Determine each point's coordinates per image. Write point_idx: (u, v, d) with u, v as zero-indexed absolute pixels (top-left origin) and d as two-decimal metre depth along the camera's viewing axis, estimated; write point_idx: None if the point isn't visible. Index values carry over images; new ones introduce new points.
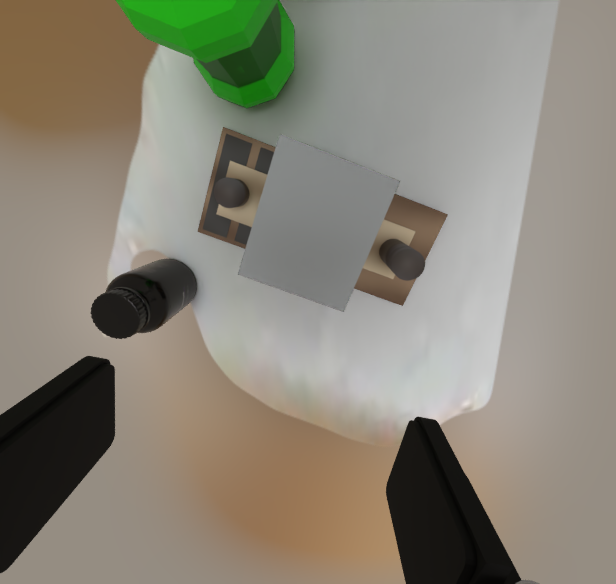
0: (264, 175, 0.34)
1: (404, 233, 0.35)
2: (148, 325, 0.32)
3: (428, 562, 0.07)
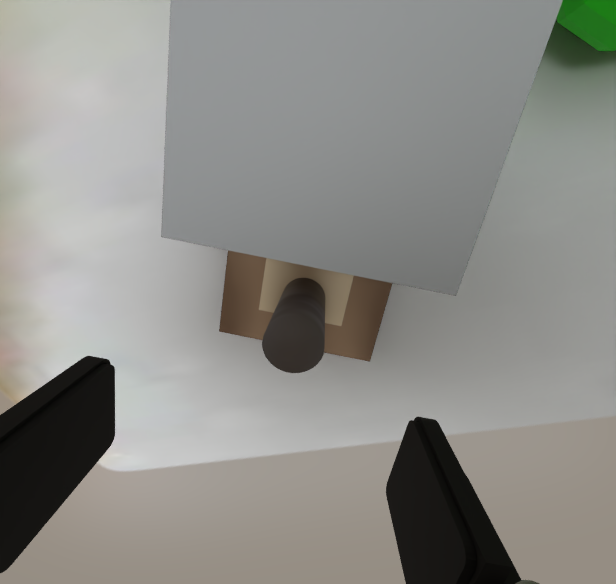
0: None
1: (335, 311, 0.21)
2: None
3: (427, 562, 0.07)
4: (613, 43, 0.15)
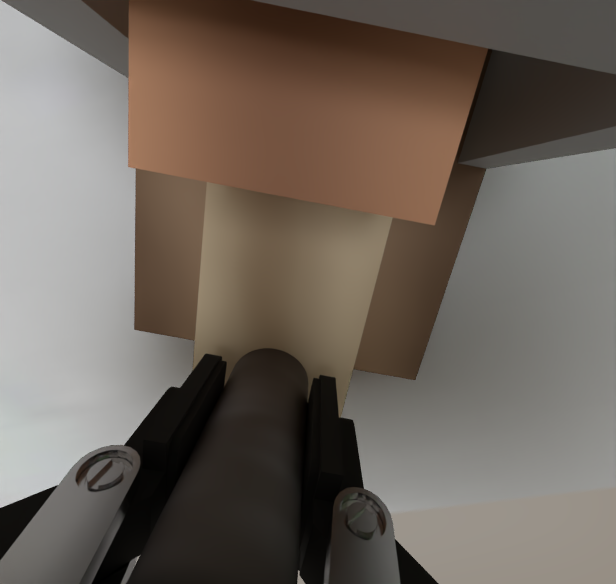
0: None
1: None
2: None
3: None
4: None
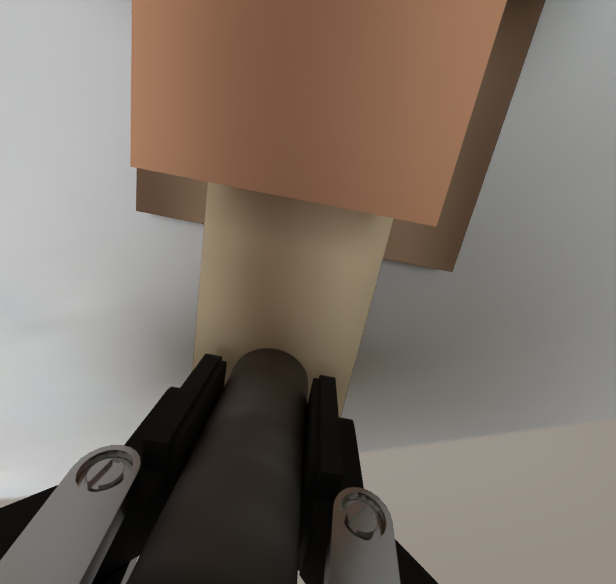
0: None
1: None
2: None
3: None
4: None
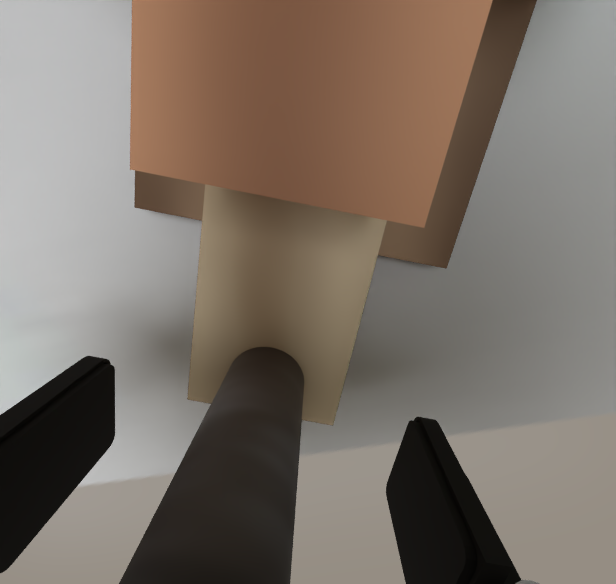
0: None
1: (322, 401, 0.12)
2: None
3: (428, 562, 0.07)
4: None
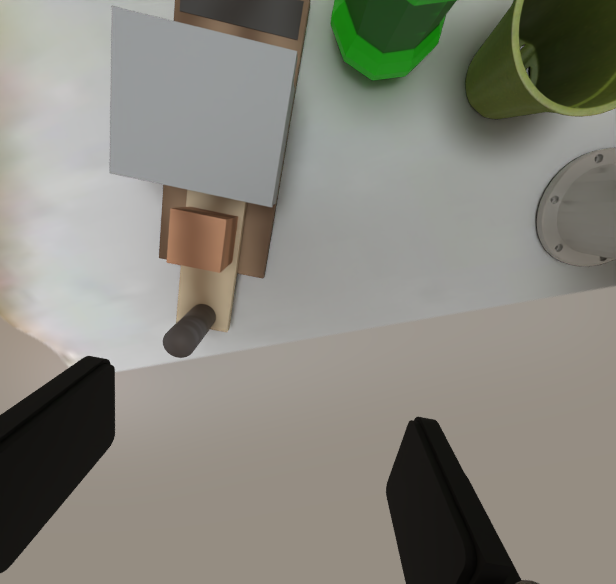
0: None
1: (222, 323, 0.36)
2: None
3: (427, 562, 0.07)
4: (369, 76, 0.28)
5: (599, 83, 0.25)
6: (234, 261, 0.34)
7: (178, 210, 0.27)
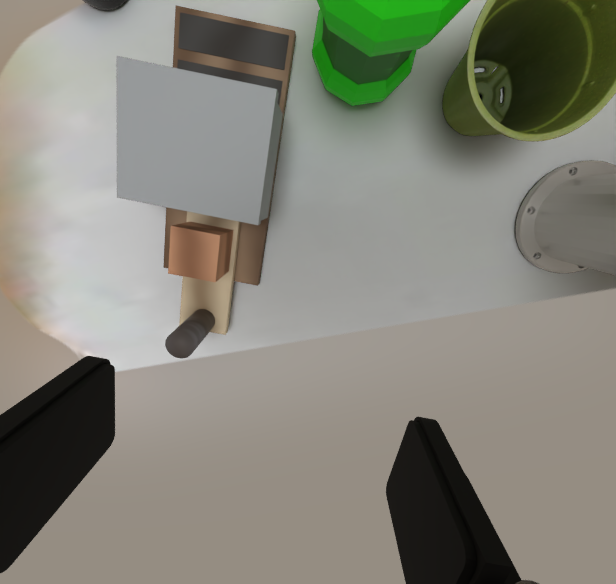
0: None
1: (221, 326, 0.39)
2: None
3: (428, 562, 0.07)
4: (348, 102, 0.30)
5: (559, 106, 0.26)
6: (231, 270, 0.37)
7: (177, 227, 0.31)
